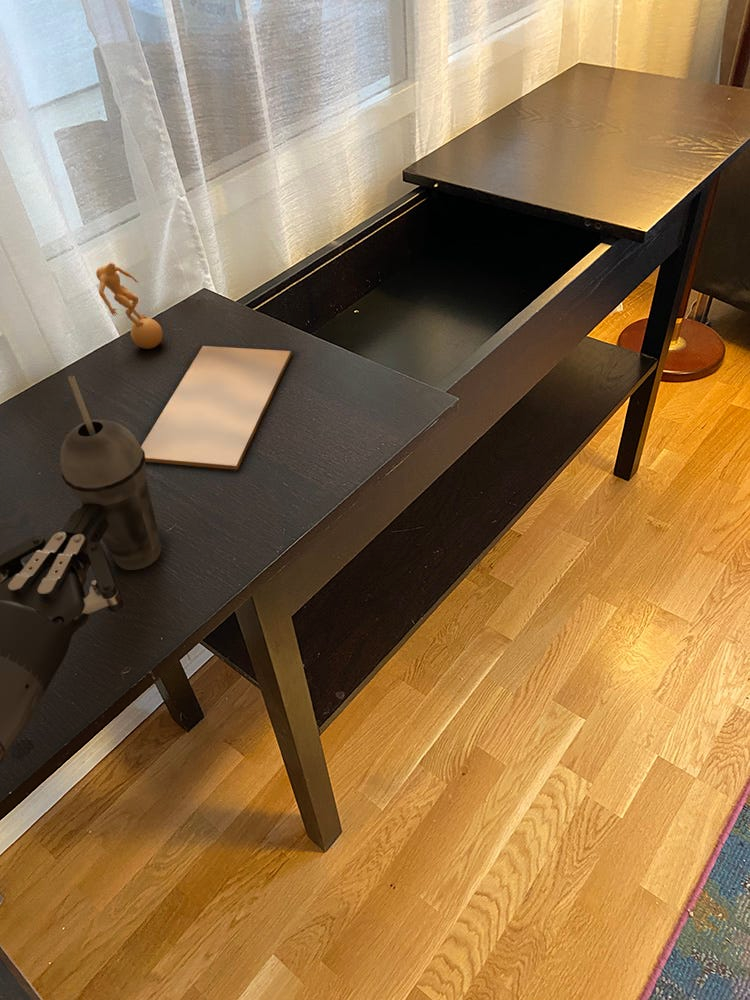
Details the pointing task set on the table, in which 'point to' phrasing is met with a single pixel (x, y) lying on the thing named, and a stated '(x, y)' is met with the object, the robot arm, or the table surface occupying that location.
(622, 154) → the table surface
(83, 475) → the beverage cup
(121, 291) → the figurine
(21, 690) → the robot arm
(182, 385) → the tan rectangular board
